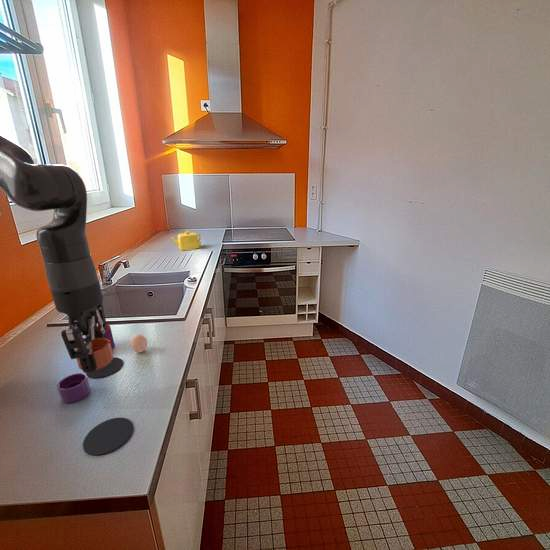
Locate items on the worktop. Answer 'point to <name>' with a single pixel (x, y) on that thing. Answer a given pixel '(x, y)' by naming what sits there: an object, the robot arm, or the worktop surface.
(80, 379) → the plum dish
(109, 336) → the mug
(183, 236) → the teapot
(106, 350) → the clay dish
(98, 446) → the front coaster
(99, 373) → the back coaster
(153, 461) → the worktop surface
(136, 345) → the egg
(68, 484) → the worktop surface
